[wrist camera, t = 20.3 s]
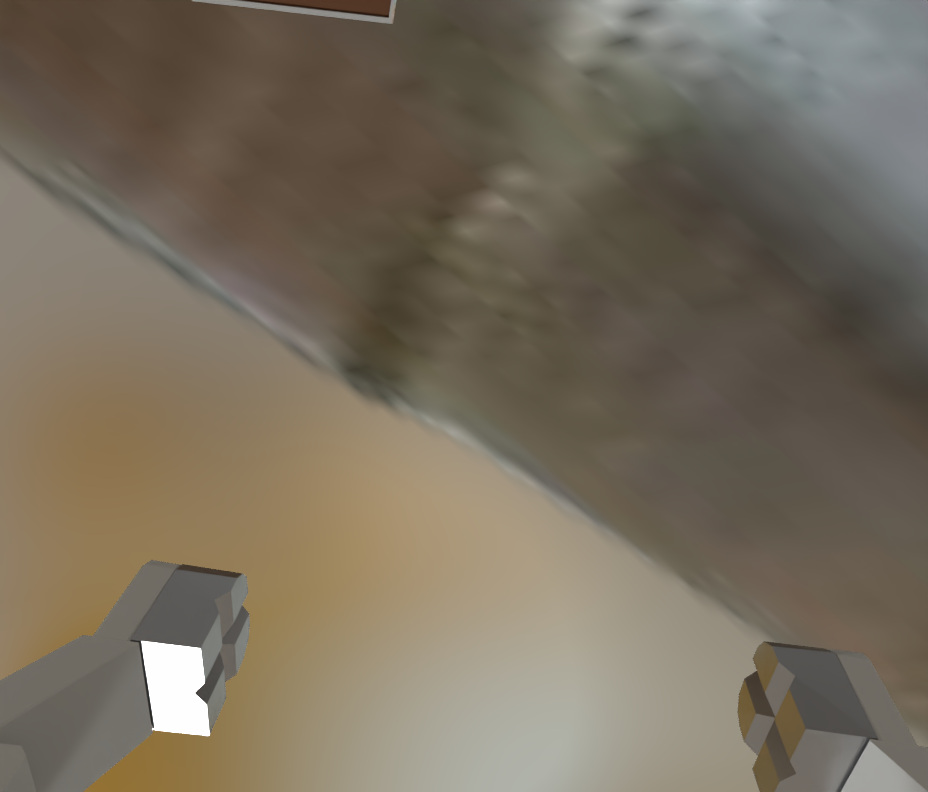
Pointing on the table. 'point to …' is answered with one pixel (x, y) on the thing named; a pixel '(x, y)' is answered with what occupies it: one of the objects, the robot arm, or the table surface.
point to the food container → (324, 7)
